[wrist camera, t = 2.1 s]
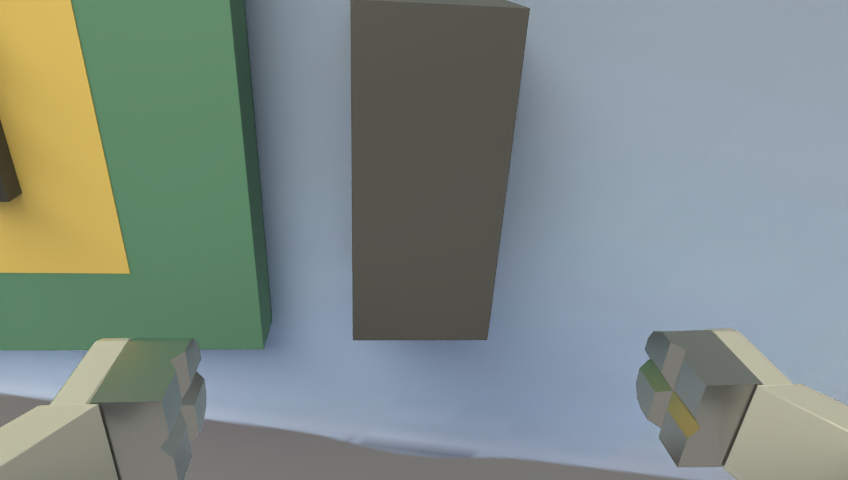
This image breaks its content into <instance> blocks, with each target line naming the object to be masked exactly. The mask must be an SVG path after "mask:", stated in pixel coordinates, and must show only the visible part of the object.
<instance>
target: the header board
mask: <svg viewBox="0 0 848 480" xmlns="http://www.w3.org/2000/svg"><path fill="white" fill-rule="evenodd" d="M271 322H272V314H271V302H270V291H269V279H268V268H267V256H266V245H265V233H264V222H263V210H262V199H261V187H260V176H259V164H258V153H257V141H256V130H255V118H254V107H253V95H252V84H251V72H250V61H249V49H248V38H247V26H246V15H245V3H244V0H0V350H89V349H90V348H91V347H92V345H93V344H94V343H95V342H96V341H98V340H100V339H102V338H132V339H133V338H194V339H195V340H196V341H197V342H198V344H199V349H264V346H265V343H266V339H267V336H268V332H269V329H270V325H271Z"/></svg>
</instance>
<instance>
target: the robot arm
mask: <svg viewBox="0 0 848 480" xmlns="http://www.w3.org/2000/svg"><path fill="white" fill-rule="evenodd" d="M645 351H646V353H647V354H648V356H649V358H650V359H649V360H648V361H647V362H646V363H645V364H644V365H643V366H642V367H641V368H640V369H639V372H638V377H637V381H636V390H637V399H638V402H639V405H640V408H641V410H642V411H643V413H644V415H645V416H646V418H647V419H648V420H649V421H651V422H652V423H654V424H655V425H657V426H658V427H660V428H661V431H660V435H659V439H660V441H661V442H662V444H663V445H664V447H665V448H666V450H667V452H668V453H669V455H670V456H671V458H672V459H673V461H674V463H675V464H676V466H677V467H724V470H726V471H727V472H728V473H730V474H731V475H732V476H733V477H735V478H736V479H737V480H848V406H847V405H845V404H843V403H841V402H839V401H837V400H835V399H832V398H830V397H828V396H826V395H824V394H822V393H820V392H817V391H815V390H813V389H811V388H809V387H807V386H805V385H803V384H793V383H792V382H791V381H790V380H789V379H788V378H787V377H786V376H785V375H784V374H783V373H781V372H780V371H779V370H778V369H777V368H776V367H775V366H774V365H773V364H772V363H771V362H770V361H769V360H768V359H767V358H766V357H765V356H764V355H763V354H762V353H761V352H760V351H759V350H758V349H757V348H756V347H755V346H754V345H752V344H751V343H750V342H749V341H748V340H747V339H746V338H745V337H744V336H743V335H742V334H741V333H740V332H739V331H736V330H734V329H732V328H722V329H705V330H690V331H653V333H652V334H651V335H650V337H649V338H648V341H647V344H646V347H645ZM200 360H201V355H200V350H199V344H198V342H197V341H196V340H195V339H194V338H133V339H132V338H102V339H100V340H98V341H96V342H95V343H94V344H93V345H92V347H91V348H90V349H89V351H88V352H87V354H86V355H85V356H84V358H83V359H82V360H81V362H80V363H79V365H78V366H77V367H76V369H75V370H74V372H73V373H72V374H71V376H70V377H69V379H68V380H67V381H66V383H65V384H64V386H63V387H62V388H61V390H60V391H59V392H58V394H57V395H56V397H55V398H54V399H53V401H52V402H51V404H50V405H42V406H38V407H36V408H34V409H32V410H30V411H29V412H27V413H25V414H23V415H22V416H20V417H18V418H16V419H15V420H13V421H11V422H9V423H7V424H6V425H4V426H2V427H0V480H184V477H185V474H186V471H187V468H188V466H189V463H190V460H191V457H192V454H191V447H190V442H191V441H192V440H193V439H195V438H196V437H197V436H198V435H199V434H200V431H201V428H202V425H203V422H204V416H205V409H206V387H205V380H204V378H203V377H202V376H201V375H199V374H198V373H197V372H196V370H197V368H198V365H199V362H200Z"/></svg>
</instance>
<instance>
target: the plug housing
mask: <svg viewBox="0 0 848 480" xmlns="http://www.w3.org/2000/svg"><path fill="white" fill-rule="evenodd" d="M529 11H530V8H527V7H524V6H521V5H518V4H515V3H512V2H510V1H507V0H351V128H352V271H353V340H487V337H488V330H489V322H490V314H491V306H492V299H493V291H494V283H495V275H496V267H497V260H498V252H499V244H500V236H501V229H502V221H503V213H504V205H505V197H506V190H507V182H508V174H509V166H510V159H511V151H512V143H513V135H514V127H515V120H516V112H517V104H518V96H519V88H520V81H521V73H522V65H523V57H524V50H525V42H526V34H527V26H528V18H529Z"/></svg>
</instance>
